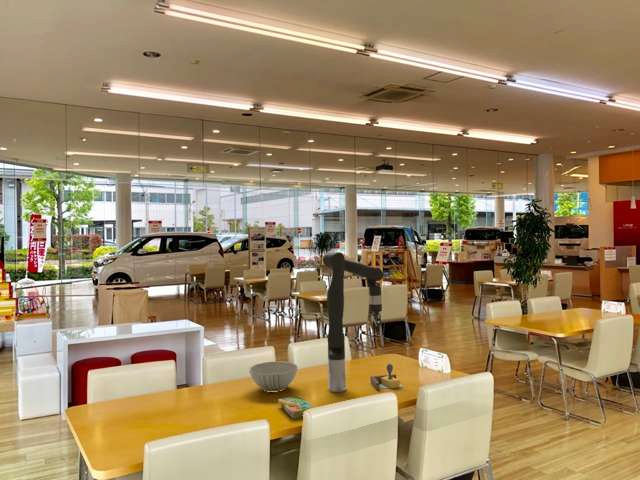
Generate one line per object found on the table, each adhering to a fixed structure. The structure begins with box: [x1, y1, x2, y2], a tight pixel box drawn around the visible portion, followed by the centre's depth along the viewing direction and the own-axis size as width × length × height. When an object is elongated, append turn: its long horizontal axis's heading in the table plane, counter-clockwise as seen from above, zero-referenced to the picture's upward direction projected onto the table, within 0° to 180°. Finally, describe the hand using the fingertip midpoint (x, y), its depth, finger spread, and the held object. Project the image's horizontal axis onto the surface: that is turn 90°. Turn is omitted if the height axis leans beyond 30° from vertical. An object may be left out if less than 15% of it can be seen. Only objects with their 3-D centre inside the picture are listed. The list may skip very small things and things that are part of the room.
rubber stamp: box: [380, 363, 401, 389], centre depth 279 cm, size 10×6×12 cm, turn 29°
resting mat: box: [379, 383, 404, 390], centre depth 280 cm, size 12×8×1 cm, turn 98°
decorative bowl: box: [249, 360, 299, 392], centre depth 279 cm, size 27×27×12 cm
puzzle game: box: [277, 395, 315, 419], centre depth 245 cm, size 12×5×20 cm
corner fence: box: [370, 373, 397, 391], centre depth 280 cm, size 15×14×4 cm
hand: (376, 330), depth 292 cm, fingers open, 8 cm apart
